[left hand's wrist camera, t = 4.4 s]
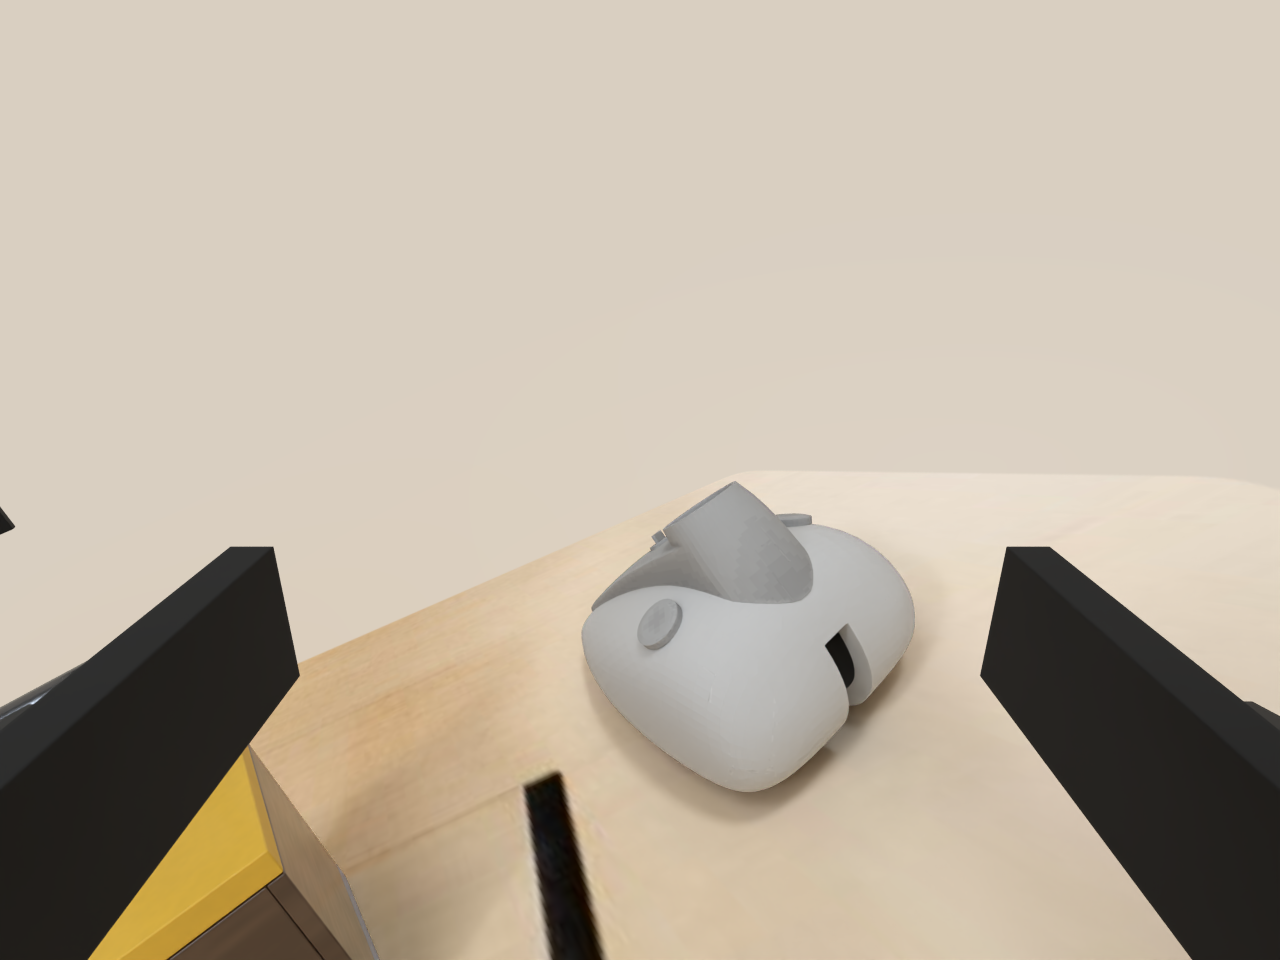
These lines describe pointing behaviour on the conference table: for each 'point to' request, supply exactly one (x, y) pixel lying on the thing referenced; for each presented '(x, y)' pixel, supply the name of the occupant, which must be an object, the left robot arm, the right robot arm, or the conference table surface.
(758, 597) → the projector
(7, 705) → the lid
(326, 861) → the chest
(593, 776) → the conference table surface
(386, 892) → the conference table surface
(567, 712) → the conference table surface
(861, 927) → the conference table surface
